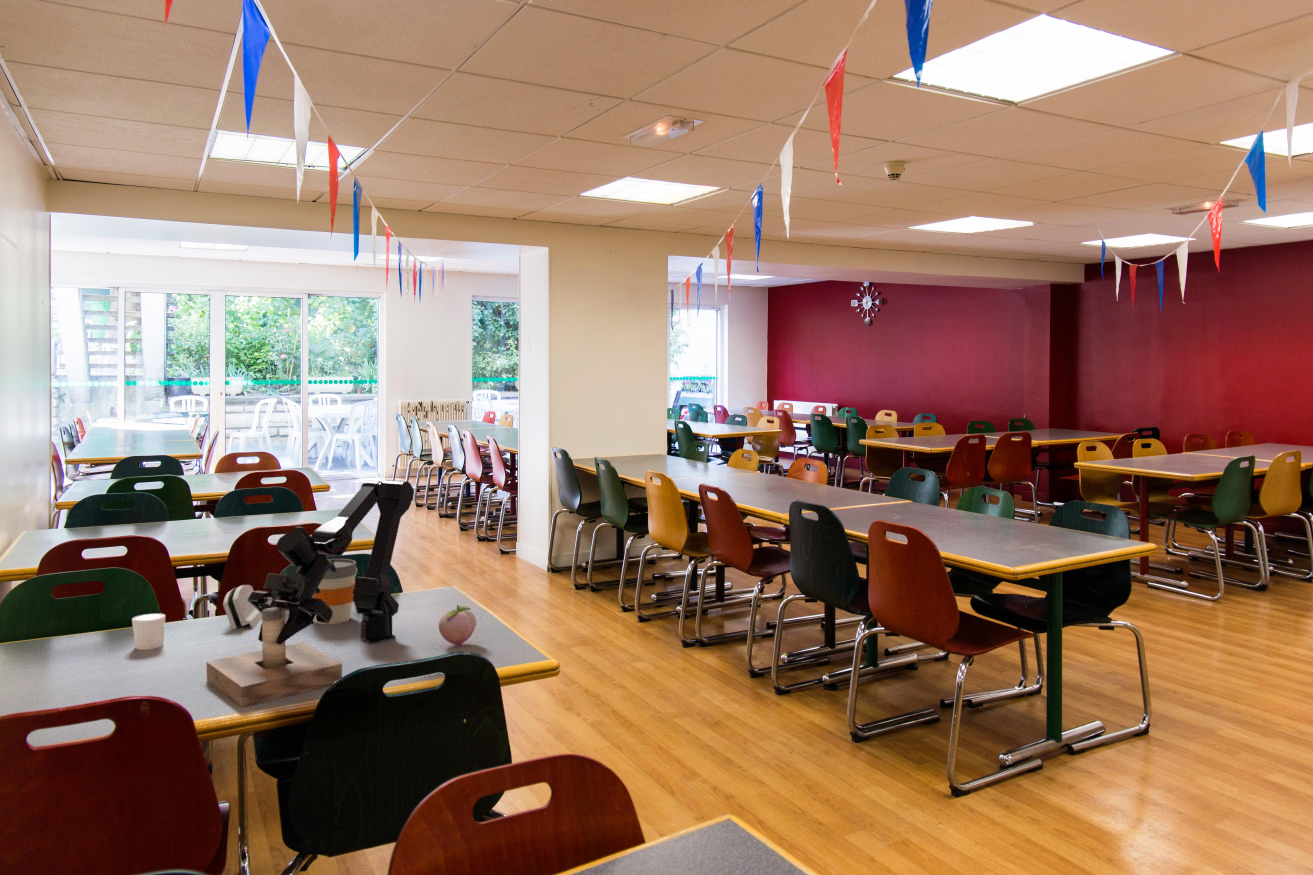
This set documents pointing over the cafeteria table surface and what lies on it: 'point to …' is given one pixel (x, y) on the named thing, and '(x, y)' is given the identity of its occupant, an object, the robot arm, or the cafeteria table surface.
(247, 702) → the socket block
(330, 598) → the reusable coffee cup
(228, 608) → the hinge
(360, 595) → the robot arm
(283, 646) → the beech pin
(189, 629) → the cafeteria table surface
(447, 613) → the decorative fruit
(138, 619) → the white short cylinder
